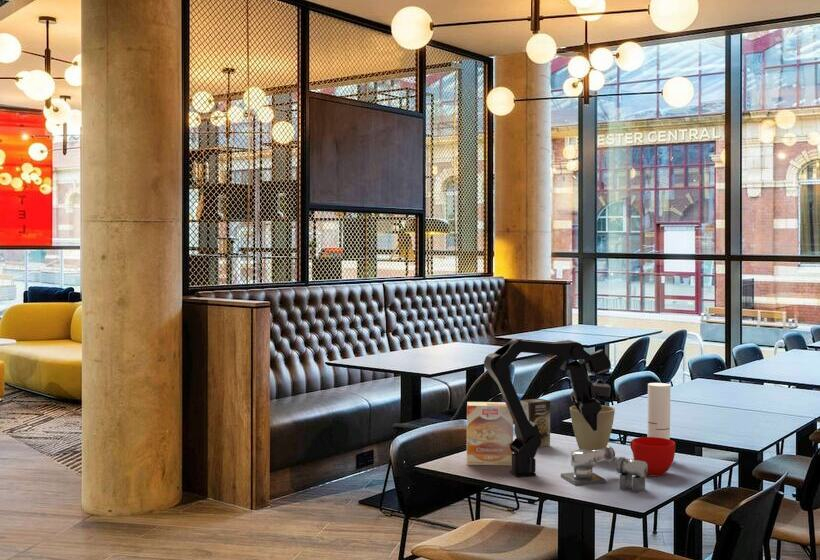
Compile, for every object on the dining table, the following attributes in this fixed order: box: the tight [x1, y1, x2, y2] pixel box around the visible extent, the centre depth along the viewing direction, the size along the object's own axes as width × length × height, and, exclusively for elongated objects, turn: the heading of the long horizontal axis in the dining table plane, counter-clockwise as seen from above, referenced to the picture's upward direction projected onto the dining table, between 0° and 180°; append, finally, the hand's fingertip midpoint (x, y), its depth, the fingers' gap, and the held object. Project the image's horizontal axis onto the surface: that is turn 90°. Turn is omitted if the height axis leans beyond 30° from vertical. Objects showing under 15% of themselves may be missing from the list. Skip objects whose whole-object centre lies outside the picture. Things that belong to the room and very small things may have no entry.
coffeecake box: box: [466, 401, 514, 467], centre depth 286 cm, size 15×7×20 cm, turn 86°
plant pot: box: [569, 404, 616, 451], centre depth 297 cm, size 15×15×16 cm
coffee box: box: [519, 398, 551, 448], centre depth 311 cm, size 9×6×16 cm
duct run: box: [616, 456, 648, 494], centre depth 255 cm, size 8×5×9 cm, turn 50°
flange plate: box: [560, 467, 607, 486], centre depth 266 cm, size 10×10×4 cm
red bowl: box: [629, 436, 676, 477], centre depth 275 cm, size 13×17×10 cm
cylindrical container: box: [646, 382, 671, 440], centre depth 290 cm, size 7×7×25 cm
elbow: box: [570, 445, 616, 468], centre depth 268 cm, size 15×7×4 cm, turn 125°
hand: (592, 426), depth 277 cm, fingers open, 9 cm apart
